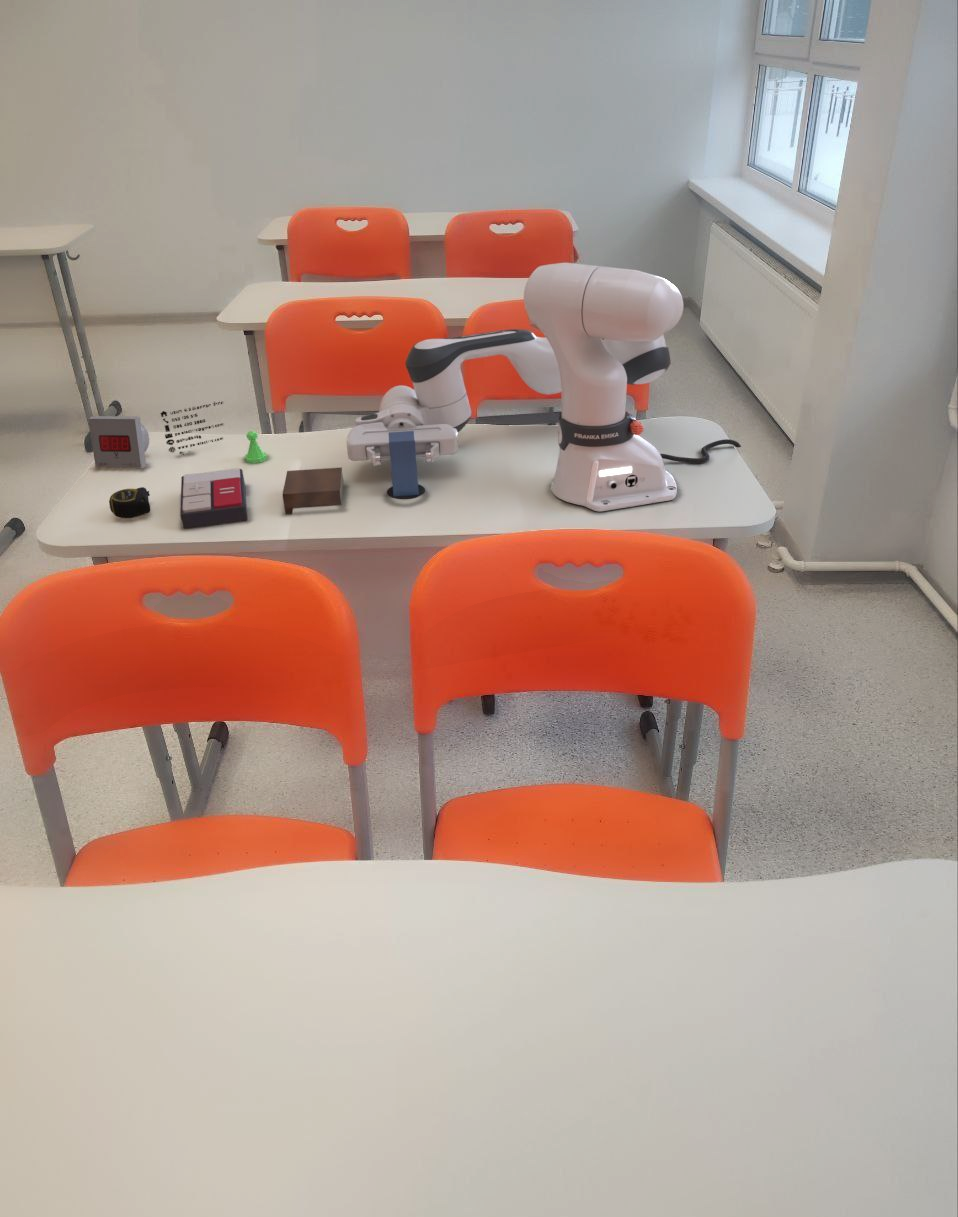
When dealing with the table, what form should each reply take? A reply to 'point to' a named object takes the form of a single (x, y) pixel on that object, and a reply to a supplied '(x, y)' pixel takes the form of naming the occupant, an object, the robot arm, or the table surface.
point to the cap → (420, 490)
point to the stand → (312, 488)
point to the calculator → (213, 498)
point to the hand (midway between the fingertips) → (403, 460)
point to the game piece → (254, 449)
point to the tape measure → (130, 503)
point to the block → (403, 463)
